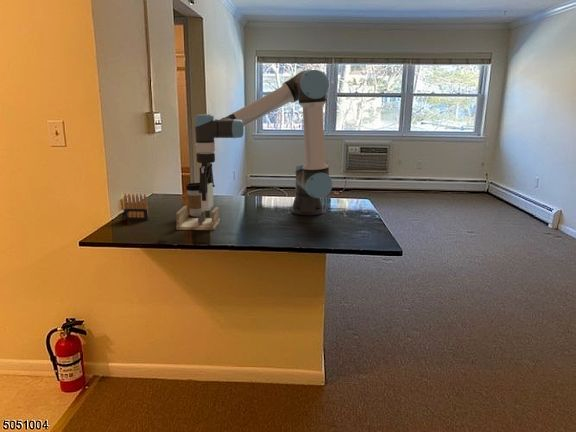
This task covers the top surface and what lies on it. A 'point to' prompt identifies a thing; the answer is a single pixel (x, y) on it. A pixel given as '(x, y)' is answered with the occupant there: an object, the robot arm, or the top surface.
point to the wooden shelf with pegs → (196, 220)
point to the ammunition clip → (136, 208)
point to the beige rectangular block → (209, 197)
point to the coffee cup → (194, 198)
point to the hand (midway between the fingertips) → (207, 205)
